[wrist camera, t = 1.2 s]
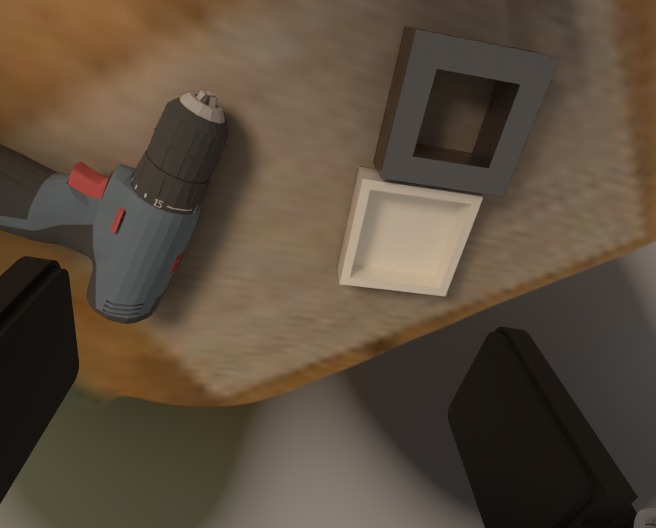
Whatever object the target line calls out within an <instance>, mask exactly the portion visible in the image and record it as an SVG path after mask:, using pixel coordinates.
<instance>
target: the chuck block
mask: <svg viewBox="0 0 656 528" xmlns="http://www.w3.org/2000/svg"><path fill="white" fill-rule="evenodd" d="M559 60H560V58H559V57H555V56H550V55H546V54H541V53H537V52H532V51H527V50H522V49H517V48H511V47H506V46H501V45H496V44H491V43H486V42H481V41H476V40H471V39H466V38H461V37H456V36H451V35H446V34H440V33H435V32H430V31H425V30H420V29H415V28H410V27H405V26H404V31H403V35H402V39H401V44H400V48H399V52H398V57H397V61H396V65H395V70H394V74H393V79H392V83H391V87H390V92H389V96H388V100H387V105H386V109H385V113H384V118H383V122H382V126H381V131H380V135H379V139H378V144H377V148H376V152H375V157H374V161H373V163H374V165H375V167H376V170H377V172H378V174H379V177H380V178H382V179H389V180H396V181H402V182H409V183H416V184H422V185H429V186H436V187H443V188H449V189H456V190H463V191H469V192H476V193H483V194H489V195H496V196H504V194H505V192H506V189H507V187H508V184H509V182H510V179H511V177H512V174H513V172H514V170H515V167H516V165H517V162H518V160H519V157H520V155H521V153H522V150H523V148H524V145H525V143H526V140H527V138H528V135H529V133H530V131H531V128H532V126H533V123H534V121H535V118H536V116H537V113H538V111H539V109H540V106H541V104H542V101H543V99H544V96H545V94H546V91H547V89H548V87H549V84H550V82H551V79H552V77H553V74H554V72H555V70H556V67H557V65H558V62H559ZM437 69H440V70H446V71H451V72H456V73H462V74H467V75H472V76H478V77H483V78H489V79H494V80H498V81H497V83H496V86H495V89H494V92H493V95H492V98H491V101H490V104H489V106H488V109H487V112H486V115H485V118H484V121H483V124H482V126H481V129H480V132H479V135H478V138H477V141H476V144H475V146H474V149H473V152H472V153H467V152H461V151H455V150H449V149H443V148H436V147H430V146H424V145H418V144H416V142H417V139H418V135H419V131H420V128H421V124H422V121H423V117H424V113H425V110H426V106H427V103H428V99H429V95H430V92H431V88H432V84H433V81H434V77H435V74H436V70H437Z"/></svg>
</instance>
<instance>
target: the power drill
mask: <svg viewBox="0 0 656 528" xmlns="http://www.w3.org/2000/svg"><path fill="white" fill-rule="evenodd" d="M215 96H216V95H214V94H213V93H212V92H210V91H207V90H206V92H204V91H203V90H201V91H200V92H199V93H198V92H189V93H187V94H185V95H183V96H181V97H179V98H177V99H174V100H172V101H170V102H168V103H167V105H166V107H165V109H164V111H163V113H162V116H161V118H160V120H159V122H158V124H157V127H156V128H155V130H154V131H155V132H154V134H153V137H152V139H151V142H150V144H149V147H148V150H146V152H145V153H144V155H143V157H142V159H141V160H140V162H139V164H138V165H137V167H136V169H134V168H130V167H127V166H125V165H122V164H120V165H119V166H117V167H116V169H115V170H114V171H113V172H112V173H111V175H110V176H109V177H108V178H105V177H103V176H102V175H100V174H98V173H97V172H95V171H93V170H92V169H90V168H89V167H88V166H86V165H85V164H84V163H83V162H78V163H77V164H75V165H74V167H73V168H72V171H71V174H66V175H62V174H59V173H57V172H55V171H53V170H51V169H48V168H46V167H44V166H42V165H40V164H39V163H37V162H35V161H33V160H31V159H29V158H28V157H26V156H24V155H22V154H20V153H18V152H16V151H14V150H11V149H9V148H7V147H5V146H3V145H1V144H0V230H3V231H6V232H9V233H12V234H15V235H18V236H21V237H25V238H28V239H31V240H35V241H41V242H48V243H54V244H60V245H63V246H66V247H69V248H72V249H74V250H76V251H79V252H81V253H83V254H85V255H86V256H88V257H89V258H90V259H91V260H92V262H93V272H92V275H91V279H90V282H89V286H88V289H87V300H88V302H89V305H90V306H91V308H92V309H93V310H94V311H95V312H97V313H98V314H100V315H101V316H103V317H104V318H106V319H108V320H112V321H115V322H119V323H124V324H128V323H136V322H139V321H141V320H143V319H146V318H148V317H149V316H150V315H151V314H152V313H153V312H154V311H155V309H156V307H157V306H158V304H159V302H160V300H161V298H162V296H163V294H164V292H165V290H166V288H167V286H168V284H169V282H170V280H171V278H172V276H173V274H174V271H175V270H176V269H177V263H178V262H179V261H180V260H181V258H182V252H183V251H184V250H185V249H186V248H187V246H188V243H189V241H190V239H191V237H192V234H193V232H194V230H195V227H196V225H197V223H198V219H199V217H200V210H201V209H200V206H201V204H202V202H203V198H204V196H205V192H206V189H207V185H208V182H209V179H210V175H211V173H212V170H213V168H214V166H215V164H216V162H217V160H218V158H219V156H220V153H221V151H222V148H223V146H224V144H225V141H226V139H227V137H228V130H227V125H226V121H225V119H224V114H223V109H222V107H221V106H220V105H219V104H218V103H217V100H218V99H217V98H215Z"/></svg>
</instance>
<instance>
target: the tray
mask: <svg viewBox="0 0 656 528" xmlns="http://www.w3.org/2000/svg"><path fill="white" fill-rule="evenodd" d="M482 200H483V195H482V194H481V193H476V192H469V191H463V190H456V189H449V188H443V187H436V186H429V185H422V184H416V183H409V182H402V181H396V180H389V179H382V178H380V177H379V174H378V172H377V170H376V169H372V168H365V167H359V168H358V173H357V178H356V182H355V187H354V192H353V196H352V201H351V206H350V210H349V215H348V220H347V225H346V229H345V234H344V239H343V243H342V248H341V253H340V257H339V262H338V267H337V268H338V276H339V284H343V285H351V286H360V287H369V288H377V289H386V290H395V291H403V292H412V293H421V294H429V295H438V296H446V293H447V291H448V288H449V286H450V283H451V280H452V278H453V275H454V273H455V270H456V267H457V265H458V262H459V260H460V257H461V254H462V252H463V249H464V247H465V244H466V241H467V239H468V236H469V234H470V231H471V228H472V226H473V223H474V221H475V218H476V215H477V213H478V210H479V207H480V205H481V202H482Z"/></svg>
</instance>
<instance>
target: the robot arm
mask: <svg viewBox="0 0 656 528" xmlns="http://www.w3.org/2000/svg"><path fill="white" fill-rule="evenodd" d="M78 370H79V358H78V349H77V341H76V332H75V323H74V315H73V306H72V298H71V289H70V280H69V274H68V271H67V270H65V269H61V268H60V265H59V263H58V262H57V261H55V260H48V259H41V258H35V257H28V256H25V257H22V258H20V259H19V260H18V261H16V262H15V263H14V264H13V265H12V266H11V267H10V268H9V269H8V270H6V271H5V272H4V273H3V274H2V275H1V276H0V503H1V502H2V500H3V498H4V497H5V495H6V494H7V492H8V490H9V489H10V487H11V485H12V483H13V482H14V480H15V478H16V477H17V475H18V474H19V472H20V470H21V469H22V467H23V465H24V464H25V462H26V460H27V459H28V457H29V455H30V454H31V452H32V450H33V449H34V447H35V445H36V444H37V442H38V441H39V439H40V437H41V436H42V434H43V432H44V431H45V429H46V427H47V426H48V424H49V422H50V421H51V419H52V417H53V416H54V414H55V413H56V411H57V409H58V408H59V406H60V404H61V403H62V401H63V399H64V398H65V396H66V394H67V393H68V391H69V389H70V388H71V386H72V384H73V383H74V381H75V379H76V377H77V374H78ZM448 420H449V423H450V427H451V430H452V432H453V435H454V438H455V441H456V444H457V447H458V450H459V453H460V456H461V459H462V461H463V465H464V467H465V470H466V474H467V476H468V479H469V482H470V485H471V488H472V491H473V494H474V497H475V500H476V503H477V506H478V509H479V511H480V514H481V518H482V520H483V523H484V526H485V528H656V509H643V510H641V511H640V512H638V513H636V511H635V509H634V508H633V506H632V505H631V503H632V502H633V501H634V500H636V499H637V498H638V496H637V495H636V494H635V492H634V491H633V489H632V488H631V486H630V485H629V483H628V482H627V480H626V479H625V477H624V476H623V474H622V473H621V471H620V470H619V468H618V467H617V465H616V464H615V462H614V461H613V460H612V458H611V456H610V455H609V453H608V452H607V450H606V449H605V447H604V446H603V444H602V443H601V441H600V440H599V438H598V437H597V435H596V434H595V432H594V431H593V429H592V428H591V426H590V425H589V423H588V422H587V420H586V419H585V418H584V416H583V414H582V413H581V411H580V410H579V408H578V407H577V405H576V404H575V403H574V401H573V400H572V398H571V396H570V395H569V394H568V392H567V391H566V389H565V387H564V386H563V385H562V383H561V382H560V380H559V379H558V377H557V376H556V374H555V373H554V371H553V370H552V368H551V367H550V365H549V364H548V362H547V361H546V359H545V358H544V356H543V355H542V353H541V352H540V350H539V349H538V347H537V346H536V344H535V343H534V341H533V340H532V338H531V337H530V335H529V334H528V333H527V332H526V331H524V330H520V329H514V328H507V327H499V328H497V329H496V330H495V331H494V332H490V333H489V334H488V336H487V337H486V339H485V341H484V343H483V345H482V347H481V348H480V350H479V352H478V354H477V356H476V358H475V360H474V361H473V363H472V365H471V367H470V369H469V371H468V373H467V374H466V376H465V378H464V380H463V382H462V384H461V386H460V388H459V389H458V391H457V393H456V395H455V397H454V399H453V401H452V402H451V404H450V406H449V410H448Z"/></svg>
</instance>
